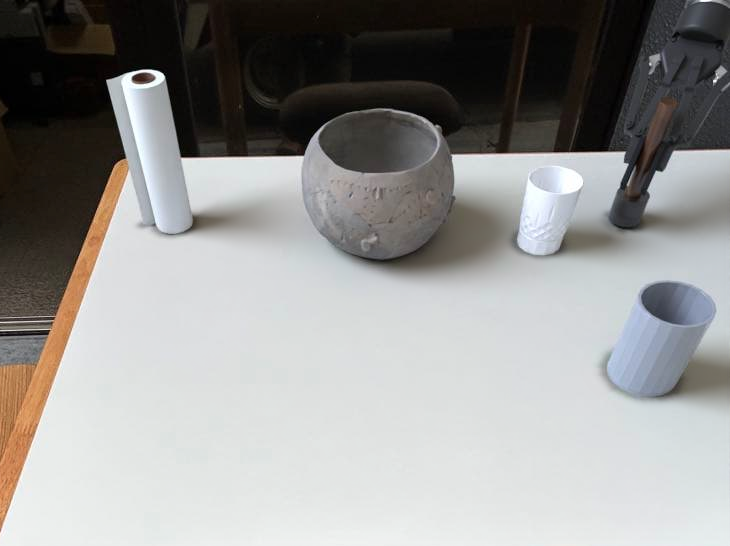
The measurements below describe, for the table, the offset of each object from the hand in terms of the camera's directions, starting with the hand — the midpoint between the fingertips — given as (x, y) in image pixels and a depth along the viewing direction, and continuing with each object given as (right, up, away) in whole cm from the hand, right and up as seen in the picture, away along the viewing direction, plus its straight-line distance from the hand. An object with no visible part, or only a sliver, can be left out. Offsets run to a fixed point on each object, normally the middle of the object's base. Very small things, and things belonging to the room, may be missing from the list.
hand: (632, 188), depth 98 cm
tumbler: (-4, -31, -12) cm, 33 cm away
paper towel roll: (-72, 0, +10) cm, 72 cm away
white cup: (-13, -6, +5) cm, 15 cm away
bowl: (-38, -4, +7) cm, 39 cm away
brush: (+2, -1, +7) cm, 8 cm away
